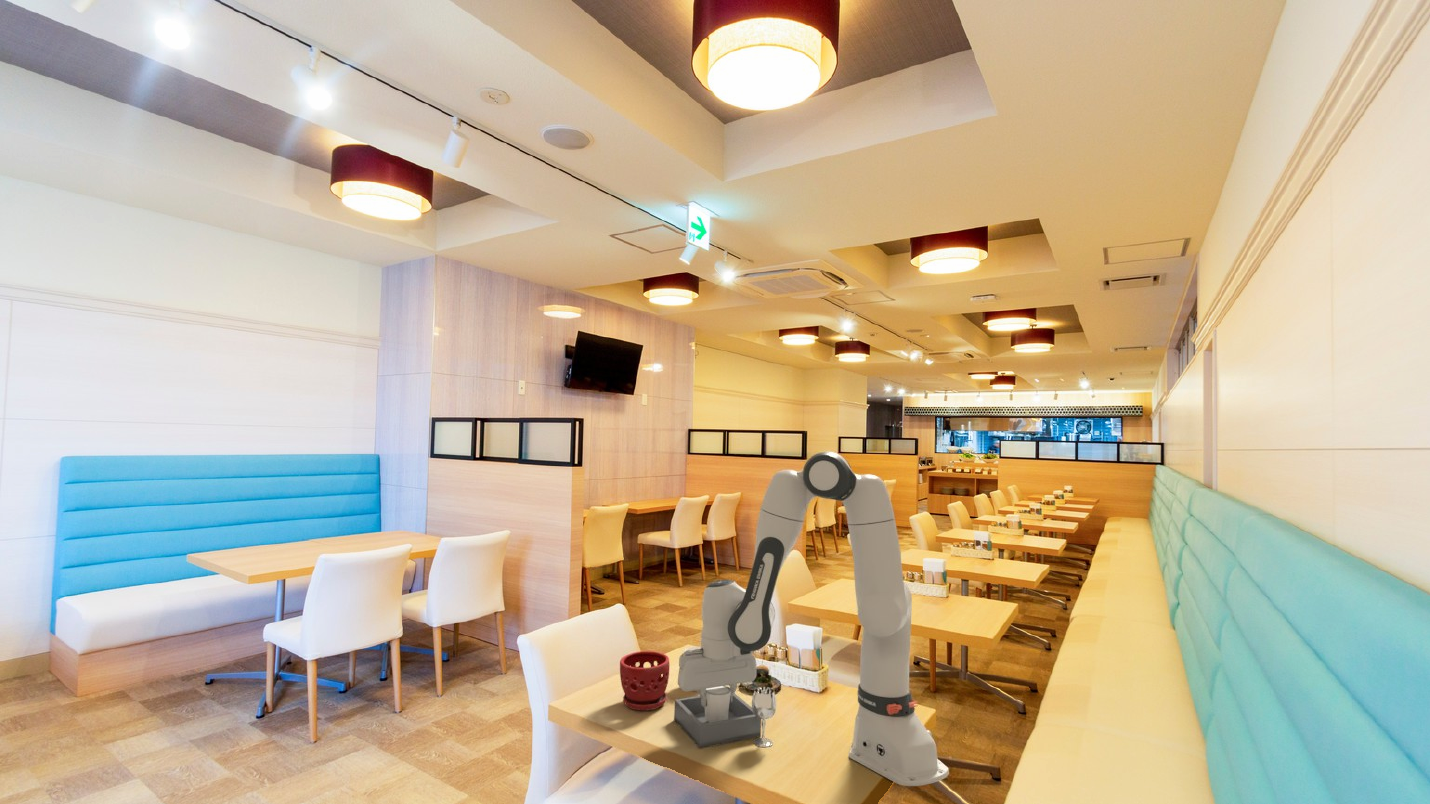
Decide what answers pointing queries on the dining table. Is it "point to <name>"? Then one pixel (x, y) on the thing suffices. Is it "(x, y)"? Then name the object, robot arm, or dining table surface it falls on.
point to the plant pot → (644, 679)
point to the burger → (763, 680)
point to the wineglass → (763, 710)
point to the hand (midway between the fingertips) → (716, 703)
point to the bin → (716, 722)
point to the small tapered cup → (717, 703)
